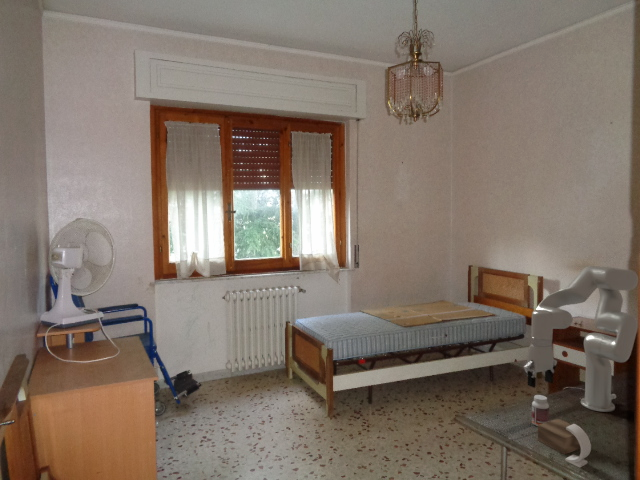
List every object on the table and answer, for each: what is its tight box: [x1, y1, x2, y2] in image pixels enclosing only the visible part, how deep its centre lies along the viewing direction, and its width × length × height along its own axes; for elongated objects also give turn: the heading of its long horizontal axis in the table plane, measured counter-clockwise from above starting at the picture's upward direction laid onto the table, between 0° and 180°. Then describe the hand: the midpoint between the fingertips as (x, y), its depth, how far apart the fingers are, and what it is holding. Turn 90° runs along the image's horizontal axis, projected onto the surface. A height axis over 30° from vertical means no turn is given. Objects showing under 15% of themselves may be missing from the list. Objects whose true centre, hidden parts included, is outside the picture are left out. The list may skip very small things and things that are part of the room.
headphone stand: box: [564, 423, 592, 468], centre depth 159 cm, size 5×6×12 cm
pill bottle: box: [531, 394, 550, 427], centre depth 187 cm, size 6×6×11 cm
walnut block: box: [537, 418, 587, 455], centre depth 172 cm, size 11×11×6 cm
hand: (540, 384), depth 186 cm, fingers open, 9 cm apart
